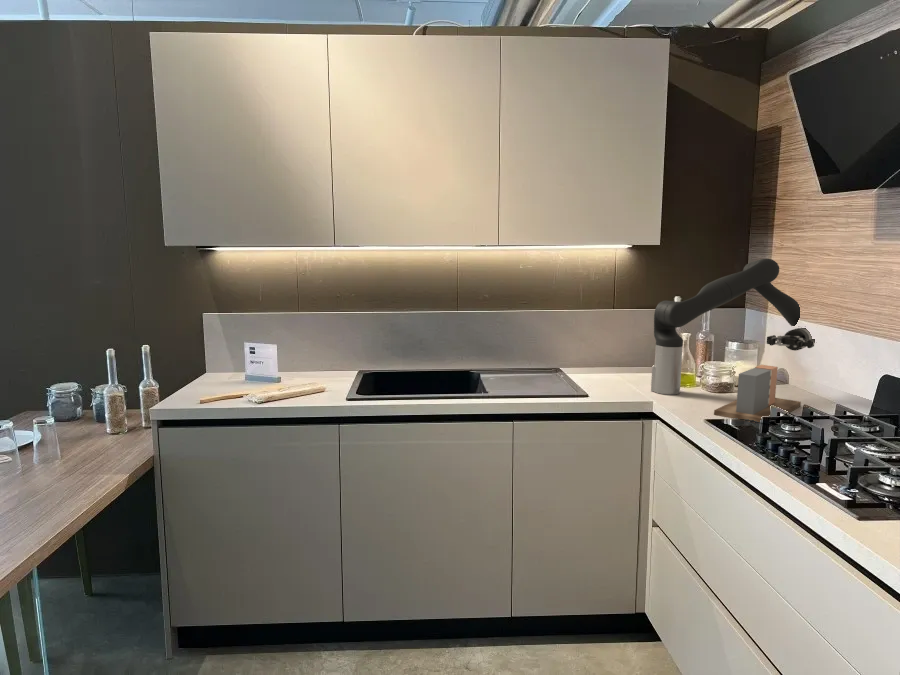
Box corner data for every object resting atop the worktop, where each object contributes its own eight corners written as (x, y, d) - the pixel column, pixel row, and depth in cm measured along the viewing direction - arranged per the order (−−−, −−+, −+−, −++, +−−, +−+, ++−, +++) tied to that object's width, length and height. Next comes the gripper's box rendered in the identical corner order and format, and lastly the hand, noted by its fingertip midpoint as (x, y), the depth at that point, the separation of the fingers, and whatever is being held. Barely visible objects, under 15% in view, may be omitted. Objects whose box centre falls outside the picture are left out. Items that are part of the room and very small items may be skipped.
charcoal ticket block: (736, 411, 192) (738, 373, 190) (751, 403, 202) (754, 367, 200) (753, 414, 188) (756, 376, 187) (768, 406, 198) (771, 370, 197)
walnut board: (713, 414, 194) (714, 410, 194) (750, 397, 217) (750, 393, 216) (768, 425, 183) (769, 420, 183) (800, 406, 206) (800, 401, 205)
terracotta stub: (752, 403, 202) (755, 367, 201) (758, 400, 207) (761, 364, 205) (768, 405, 199) (771, 369, 197) (774, 402, 203) (777, 366, 201)
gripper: (777, 326, 228) (762, 331, 216) (821, 330, 218) (808, 334, 207) (776, 346, 229) (761, 352, 217) (819, 351, 219) (806, 357, 208)
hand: (784, 343), depth 212 cm, fingers open, 8 cm apart
